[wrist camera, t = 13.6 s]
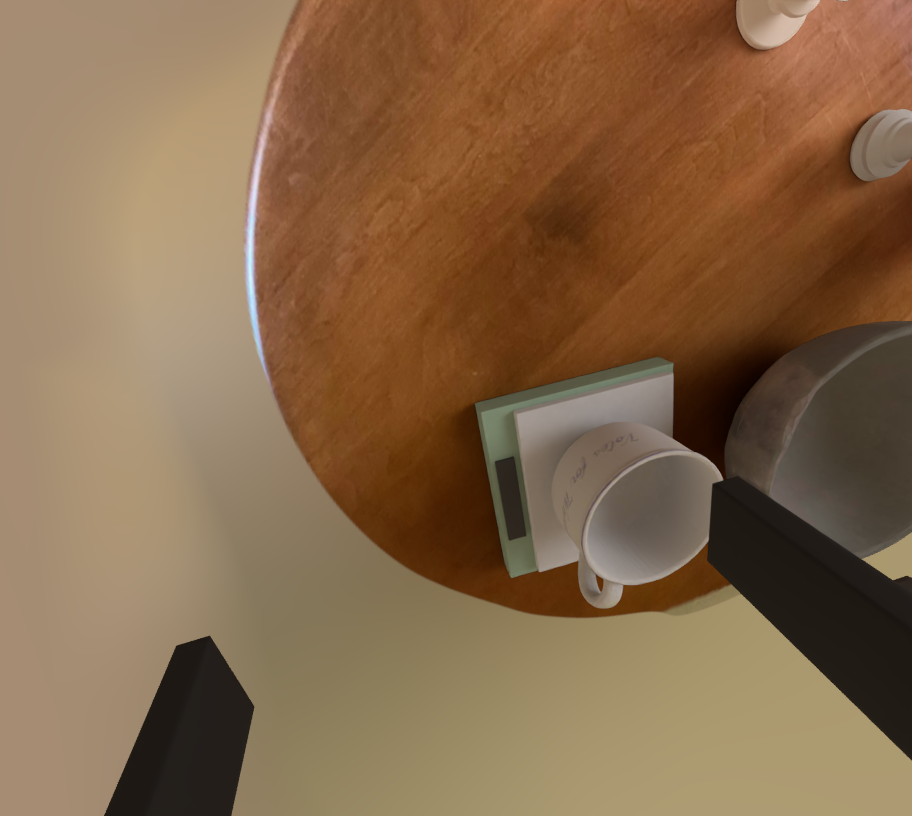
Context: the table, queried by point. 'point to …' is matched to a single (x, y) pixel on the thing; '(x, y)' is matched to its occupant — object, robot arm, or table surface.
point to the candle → (771, 20)
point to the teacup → (632, 506)
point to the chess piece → (882, 145)
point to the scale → (558, 449)
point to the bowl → (834, 435)
